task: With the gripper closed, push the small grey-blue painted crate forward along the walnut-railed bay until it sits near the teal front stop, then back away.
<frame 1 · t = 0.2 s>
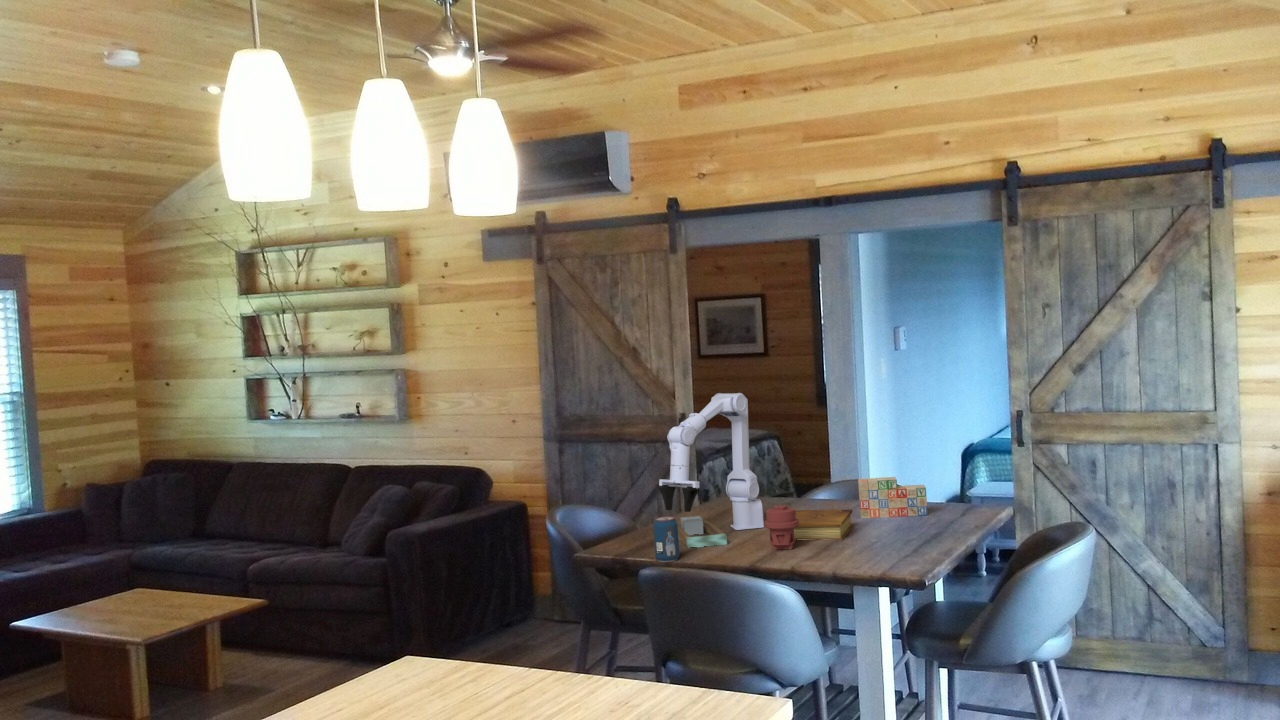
hand: (678, 510, 342), 11 cm above the table, tool pointing down, fingers open, 7 cm apart
stack of blocks: (893, 516, 369), on the table
mechanical component: (783, 549, 328), on the table
diary: (817, 535, 348), on the table
crate: (692, 533, 361), resting in bay
bay: (698, 538, 352), on the table
soda can: (667, 560, 323), on the table
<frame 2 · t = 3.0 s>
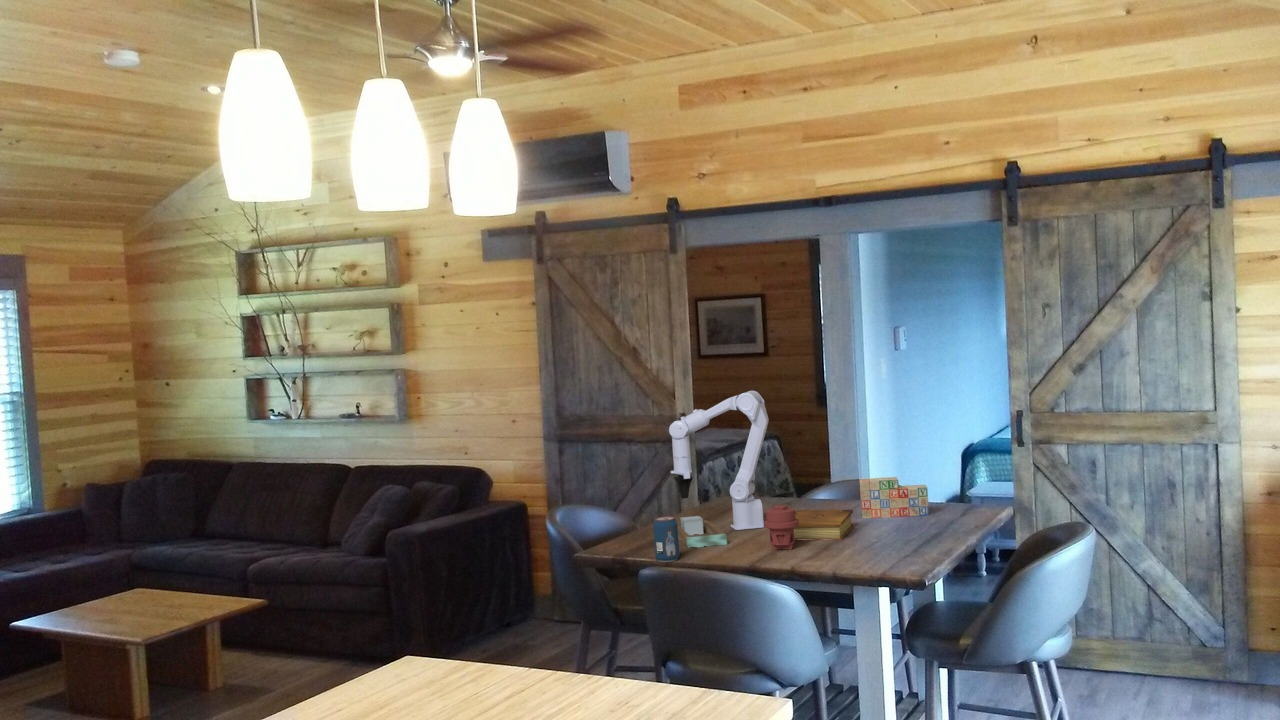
hand: (684, 498, 371), 10 cm above the table, tool pointing down, fingers closed
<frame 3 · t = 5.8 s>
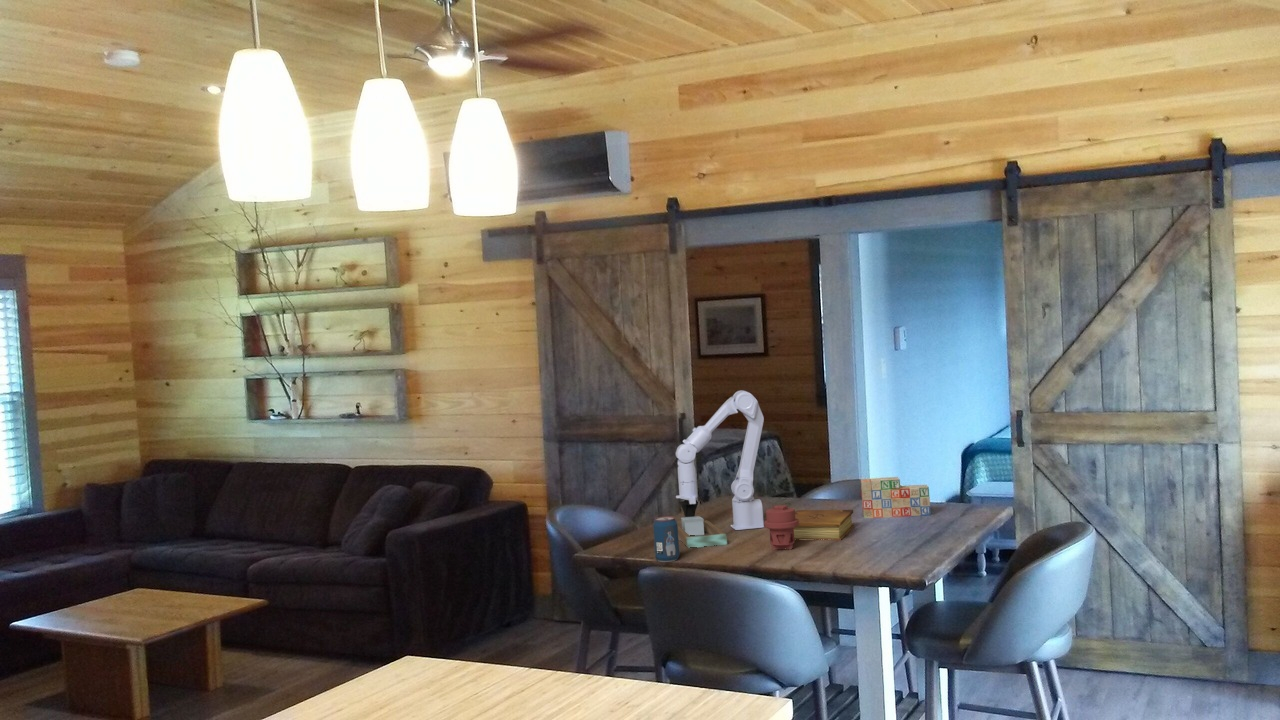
hand: (690, 523, 364), 3 cm above the table, tool pointing down, fingers closed
crate: (693, 533, 360), resting in bay, touching gripper
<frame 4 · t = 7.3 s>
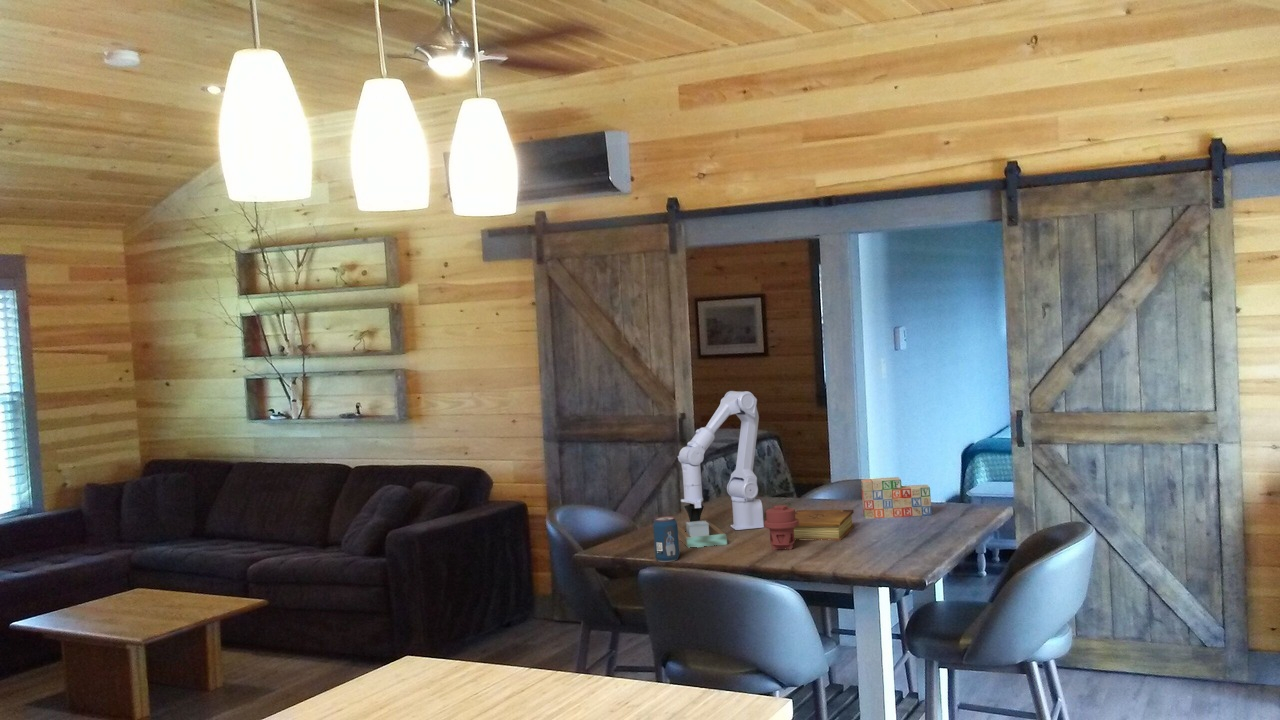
hand: (695, 527, 356), 3 cm above the table, tool pointing down, fingers closed
crate: (698, 538, 351), resting in bay, touching gripper
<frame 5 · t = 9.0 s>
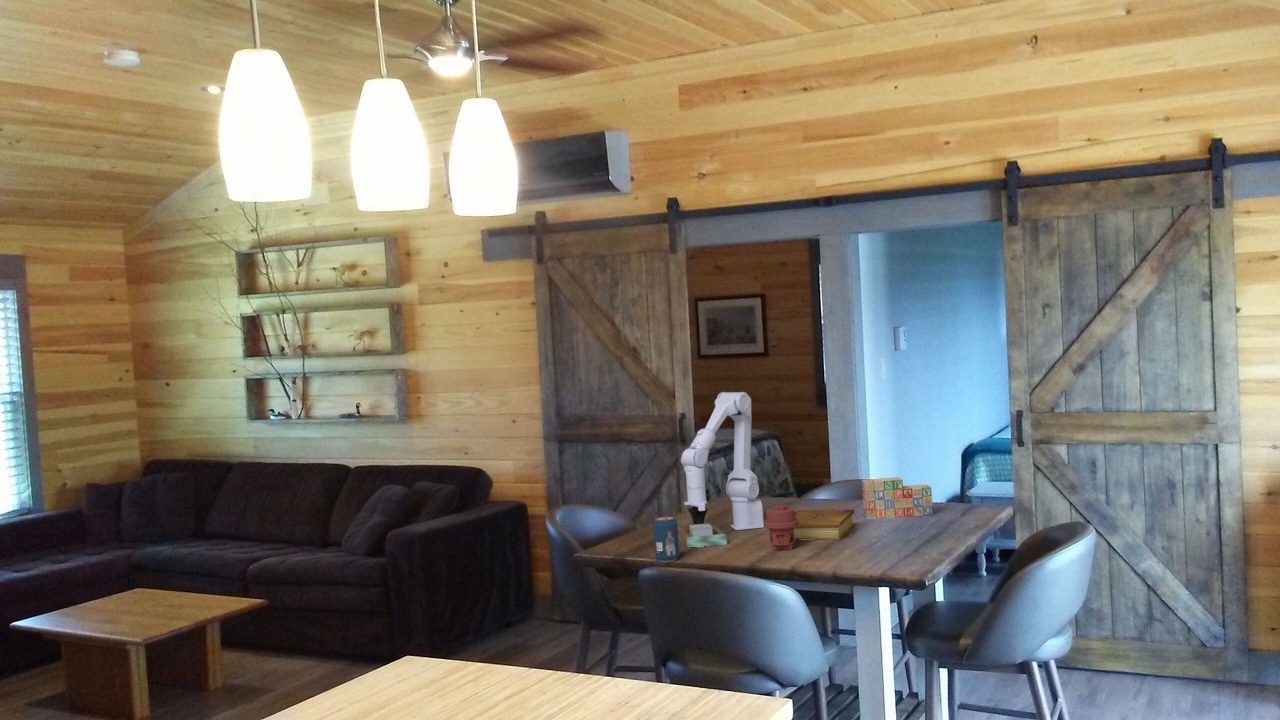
hand: (699, 530, 350), 3 cm above the table, tool pointing down, fingers closed
crate: (701, 542, 346), resting in bay, touching gripper
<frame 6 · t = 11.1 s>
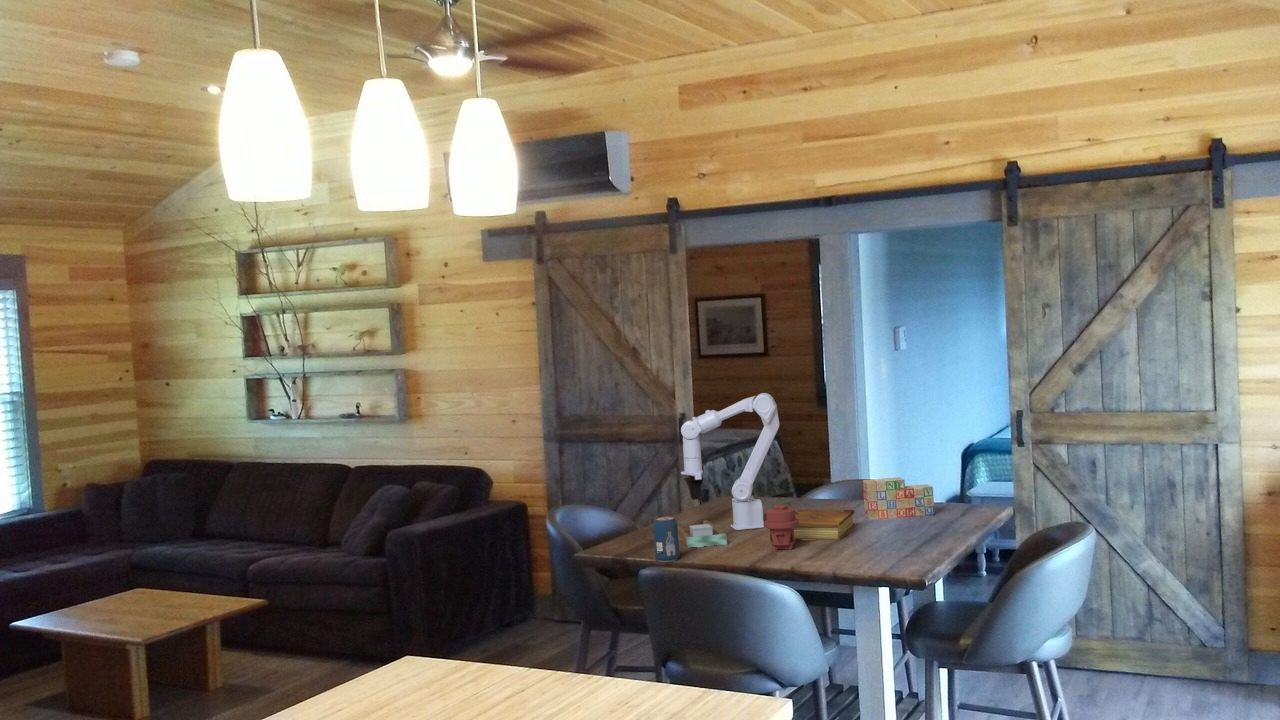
hand: (695, 499, 367), 10 cm above the table, tool pointing down, fingers closed
crate: (701, 542, 346), resting in bay
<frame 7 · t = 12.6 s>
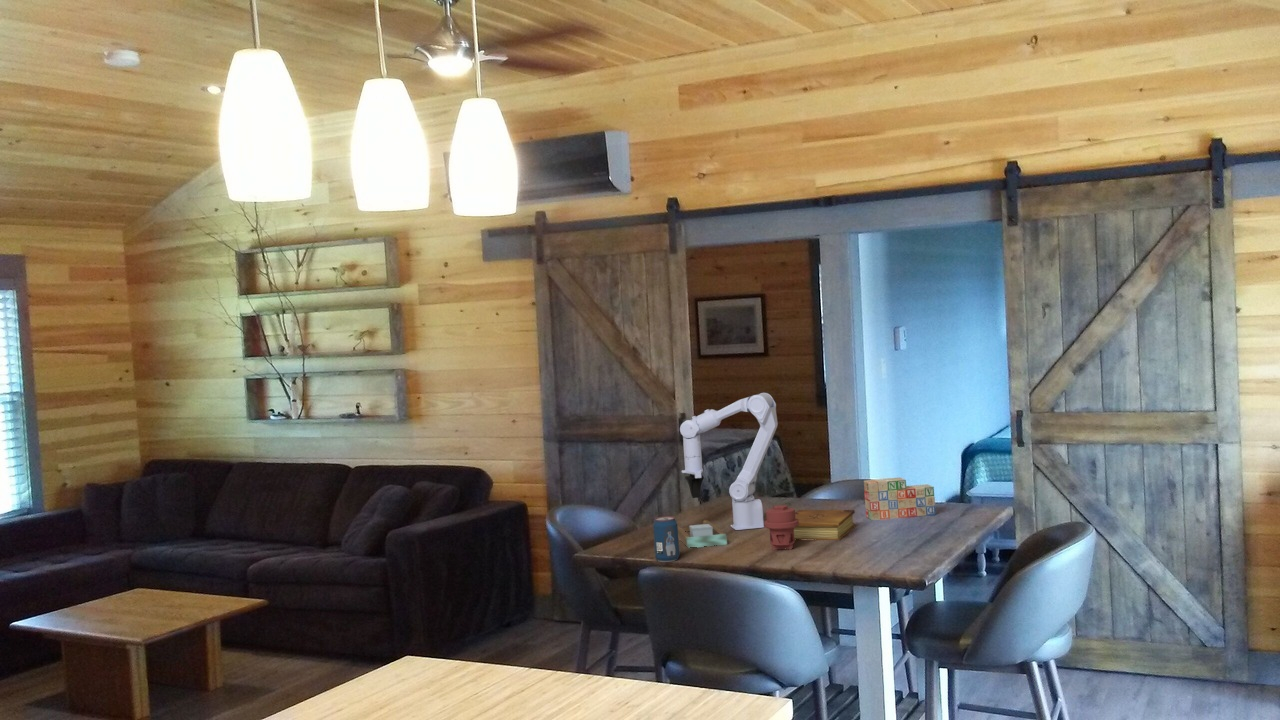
hand: (695, 497, 370), 10 cm above the table, tool pointing down, fingers closed
at the end: crate inside the target area (1.4 cm from its centre), resting in bay; crate tilted 0°; crate moved 15.9 cm from its start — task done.
